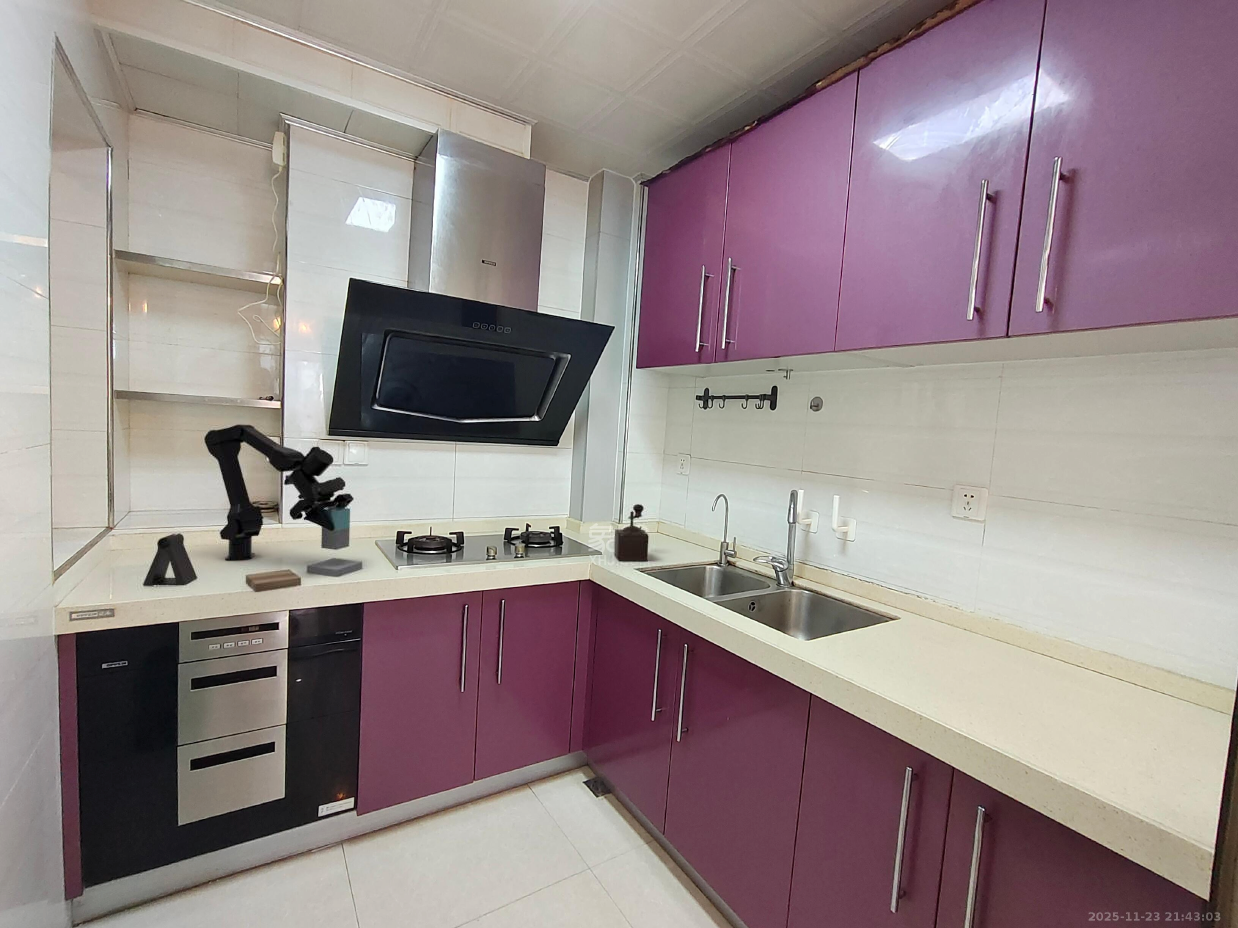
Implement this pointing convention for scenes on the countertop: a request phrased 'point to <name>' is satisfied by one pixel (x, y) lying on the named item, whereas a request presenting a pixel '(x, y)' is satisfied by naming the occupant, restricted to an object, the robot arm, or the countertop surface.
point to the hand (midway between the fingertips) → (339, 528)
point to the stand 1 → (272, 580)
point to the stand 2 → (334, 567)
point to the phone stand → (175, 554)
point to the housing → (336, 529)
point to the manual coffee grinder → (631, 540)
